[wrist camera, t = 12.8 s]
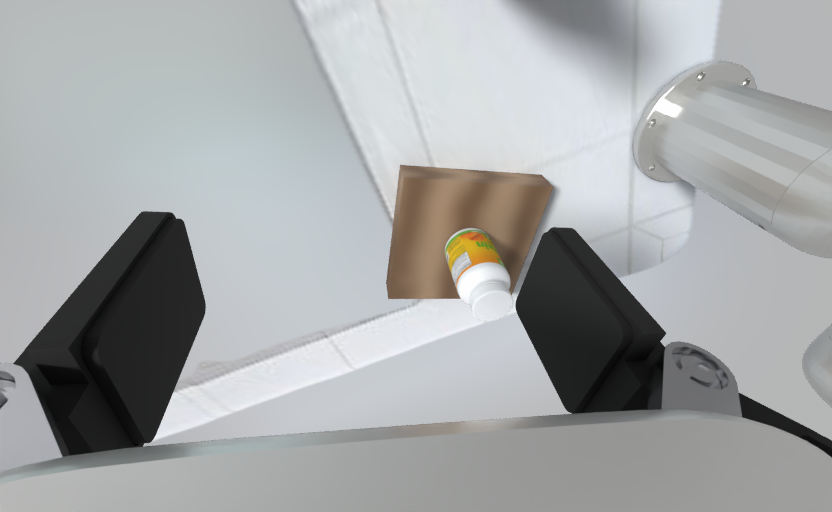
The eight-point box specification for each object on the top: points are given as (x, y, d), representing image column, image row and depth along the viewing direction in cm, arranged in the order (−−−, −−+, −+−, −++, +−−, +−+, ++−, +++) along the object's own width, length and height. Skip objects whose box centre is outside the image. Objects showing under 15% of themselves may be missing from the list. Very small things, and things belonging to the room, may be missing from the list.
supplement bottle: (499, 238, 43) (532, 297, 35) (469, 271, 45) (494, 333, 37) (464, 218, 40) (491, 277, 33) (434, 253, 43) (453, 316, 35)
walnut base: (541, 175, 42) (553, 187, 40) (502, 283, 51) (510, 298, 49) (400, 165, 39) (403, 177, 36) (386, 282, 48) (388, 298, 46)
